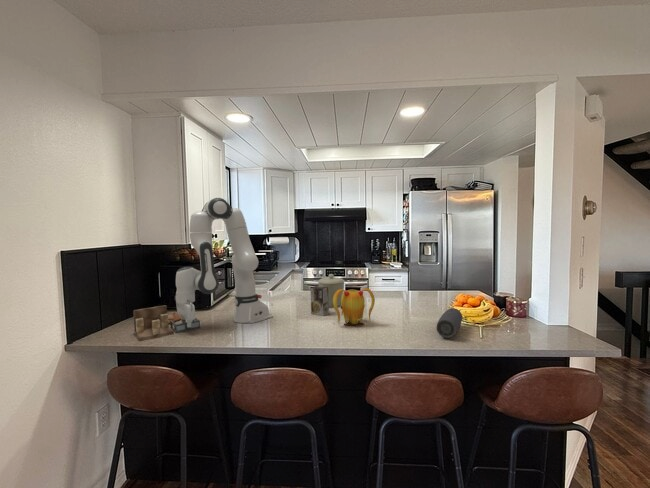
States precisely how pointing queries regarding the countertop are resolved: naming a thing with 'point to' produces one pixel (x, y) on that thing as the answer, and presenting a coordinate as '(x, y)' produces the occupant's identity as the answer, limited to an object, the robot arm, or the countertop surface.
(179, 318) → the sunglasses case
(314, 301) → the coffee box
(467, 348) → the countertop surface
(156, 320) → the display stand
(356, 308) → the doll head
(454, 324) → the bluetooth speaker
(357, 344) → the countertop surface
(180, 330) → the glasses
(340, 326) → the countertop surface
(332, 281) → the canister
